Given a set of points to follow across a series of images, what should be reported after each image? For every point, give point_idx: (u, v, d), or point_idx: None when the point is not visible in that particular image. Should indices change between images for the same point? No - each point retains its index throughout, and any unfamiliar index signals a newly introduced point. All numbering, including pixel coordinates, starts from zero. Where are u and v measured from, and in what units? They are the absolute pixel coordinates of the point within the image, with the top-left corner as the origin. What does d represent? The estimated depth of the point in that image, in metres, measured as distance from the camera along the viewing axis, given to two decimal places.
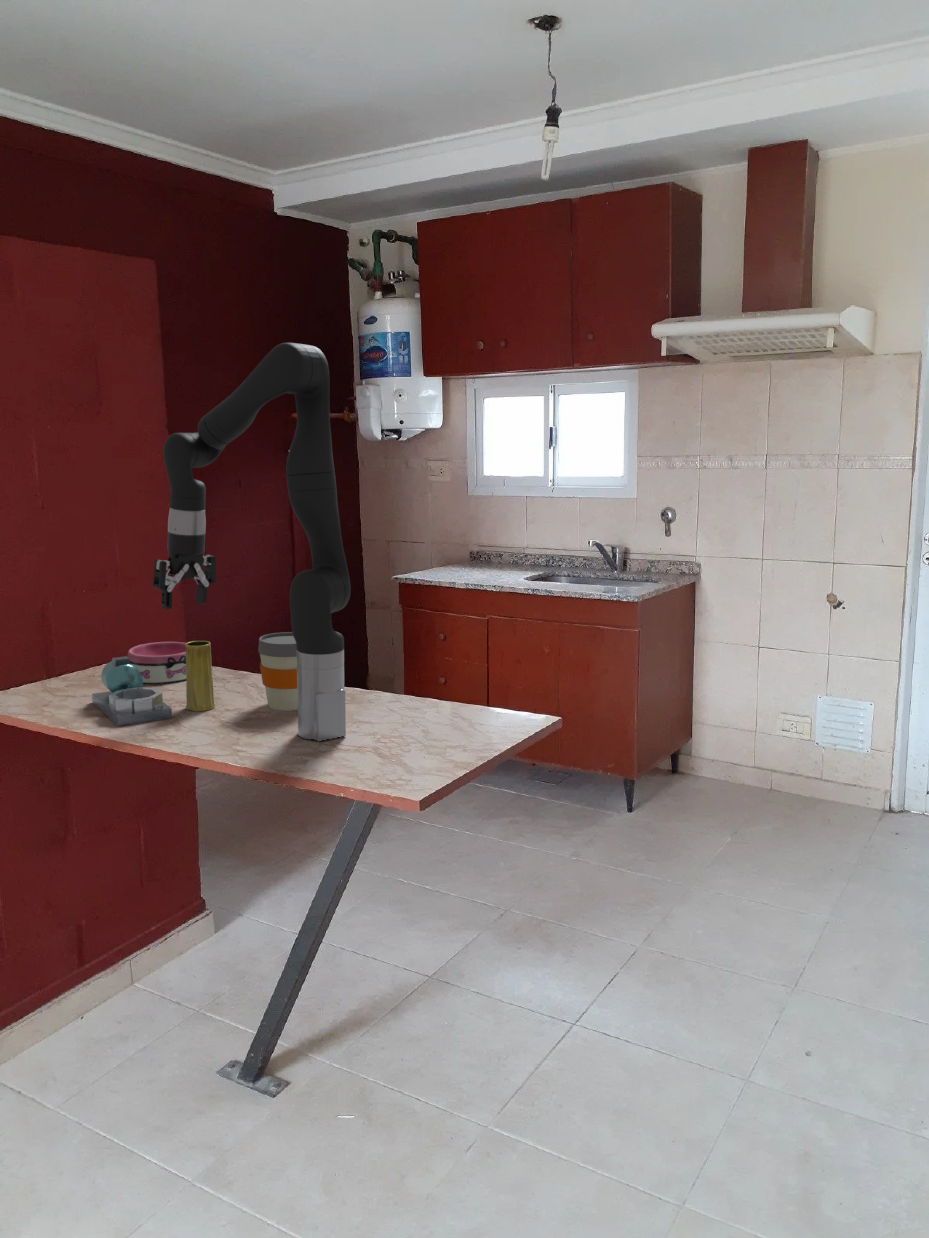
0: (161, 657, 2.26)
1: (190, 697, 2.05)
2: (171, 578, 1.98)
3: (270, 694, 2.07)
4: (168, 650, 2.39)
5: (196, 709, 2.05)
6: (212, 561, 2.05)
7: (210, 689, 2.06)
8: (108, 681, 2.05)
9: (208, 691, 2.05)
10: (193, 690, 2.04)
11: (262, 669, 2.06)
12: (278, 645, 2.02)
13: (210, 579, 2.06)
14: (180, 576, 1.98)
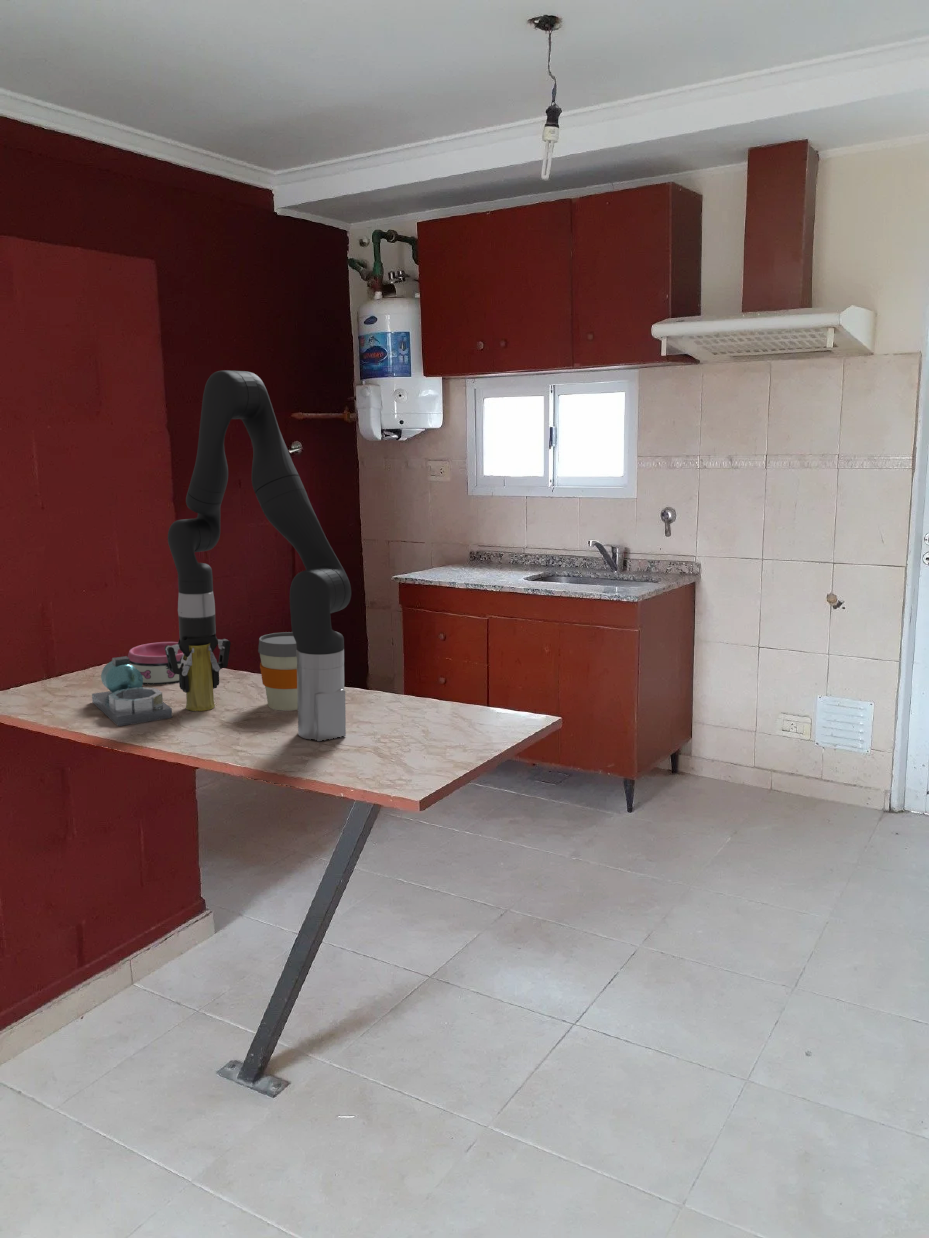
0: (162, 657, 2.26)
1: (190, 697, 2.05)
2: (184, 662, 2.03)
3: (270, 694, 2.07)
4: None
5: (196, 709, 2.05)
6: (226, 645, 2.07)
7: (210, 689, 2.06)
8: (108, 681, 2.05)
9: (208, 691, 2.05)
10: (193, 690, 2.04)
11: (262, 669, 2.06)
12: (278, 645, 2.02)
13: (222, 663, 2.08)
14: None
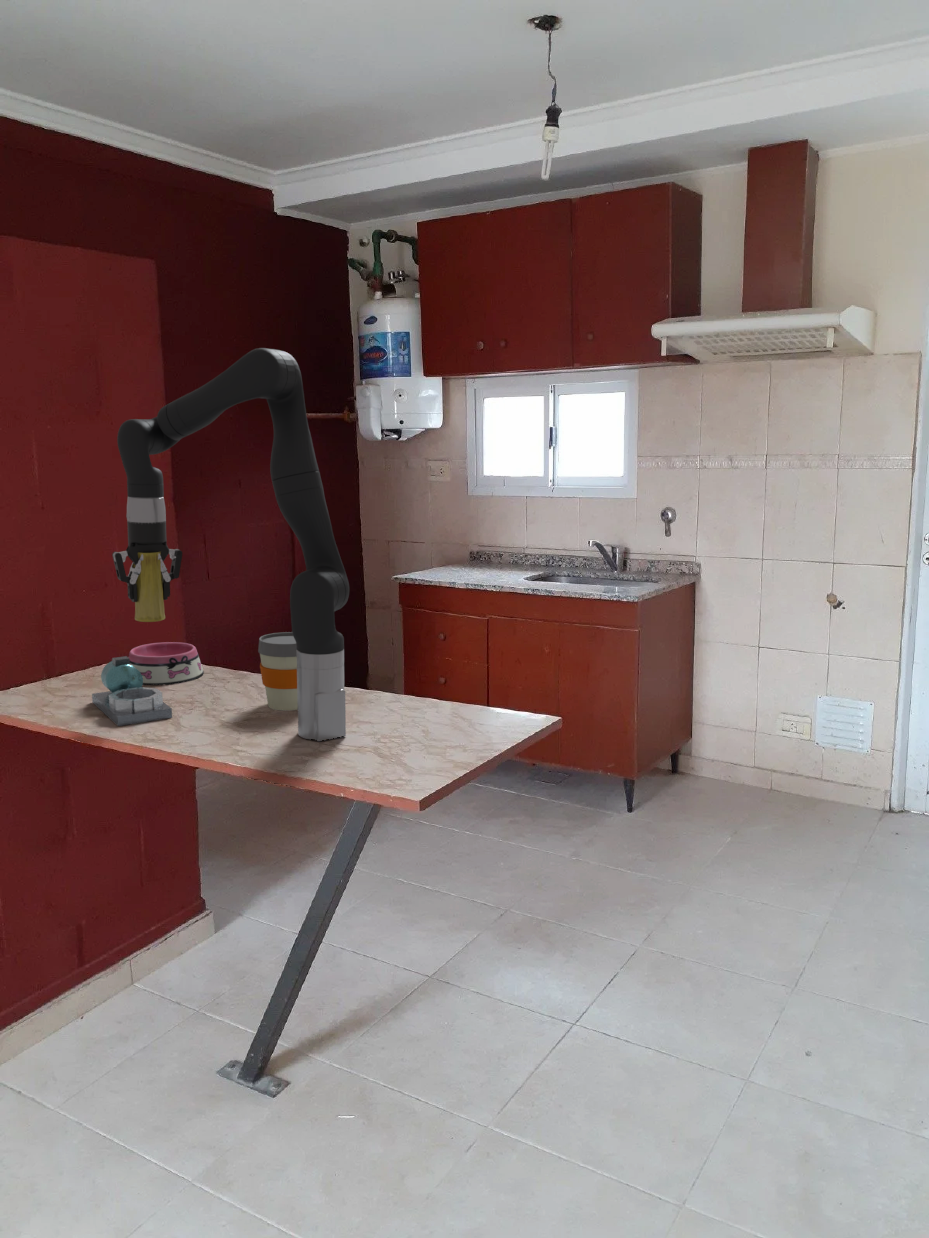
0: (163, 657, 2.26)
1: (139, 607, 1.97)
2: (133, 570, 1.96)
3: (270, 694, 2.07)
4: (169, 650, 2.39)
5: (145, 619, 1.97)
6: (178, 555, 2.00)
7: (160, 599, 1.98)
8: (108, 681, 2.05)
9: (157, 601, 1.98)
10: (141, 599, 1.97)
11: (262, 669, 2.06)
12: (278, 645, 2.02)
13: (173, 573, 2.00)
14: (140, 566, 1.95)
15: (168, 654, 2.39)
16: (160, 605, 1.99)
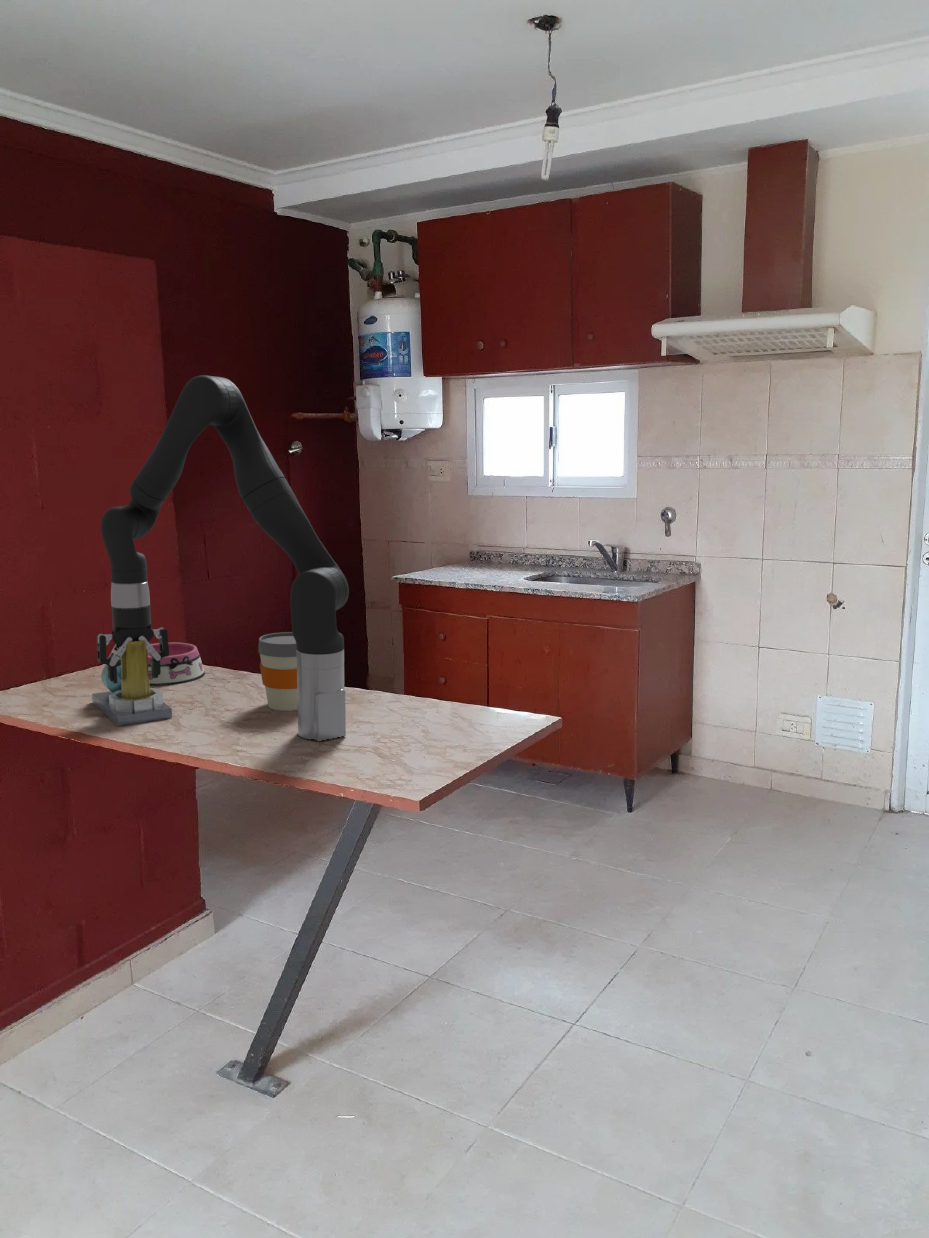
0: (164, 658, 2.25)
1: (125, 694, 1.99)
2: (115, 652, 1.96)
3: (270, 694, 2.07)
4: (170, 651, 2.39)
5: None
6: (163, 634, 2.01)
7: (146, 686, 2.00)
8: (108, 681, 2.05)
9: (144, 688, 1.99)
10: (128, 687, 1.98)
11: (262, 669, 2.06)
12: (278, 645, 2.02)
13: (163, 652, 2.02)
14: (123, 650, 1.96)
15: (169, 654, 2.38)
16: (146, 692, 2.00)
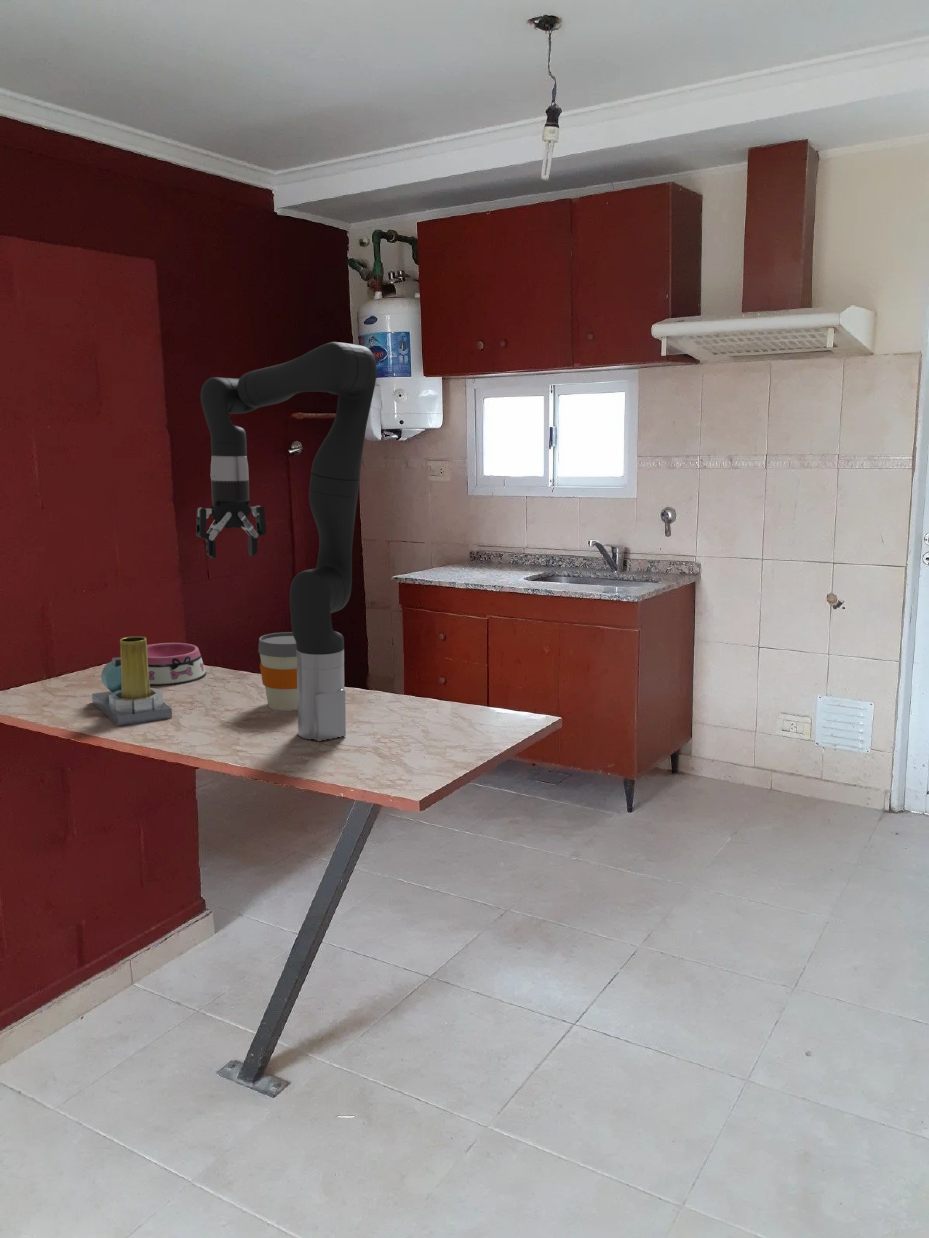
0: (166, 658, 2.25)
1: (125, 694, 1.99)
2: (214, 527, 1.96)
3: (270, 694, 2.07)
4: (171, 651, 2.38)
5: None
6: (260, 511, 2.00)
7: (146, 686, 2.00)
8: (108, 681, 2.05)
9: (144, 688, 1.99)
10: (128, 687, 1.98)
11: (262, 669, 2.06)
12: (278, 645, 2.02)
13: (260, 530, 2.01)
14: (222, 524, 1.95)
15: (170, 655, 2.38)
16: (146, 692, 2.00)
